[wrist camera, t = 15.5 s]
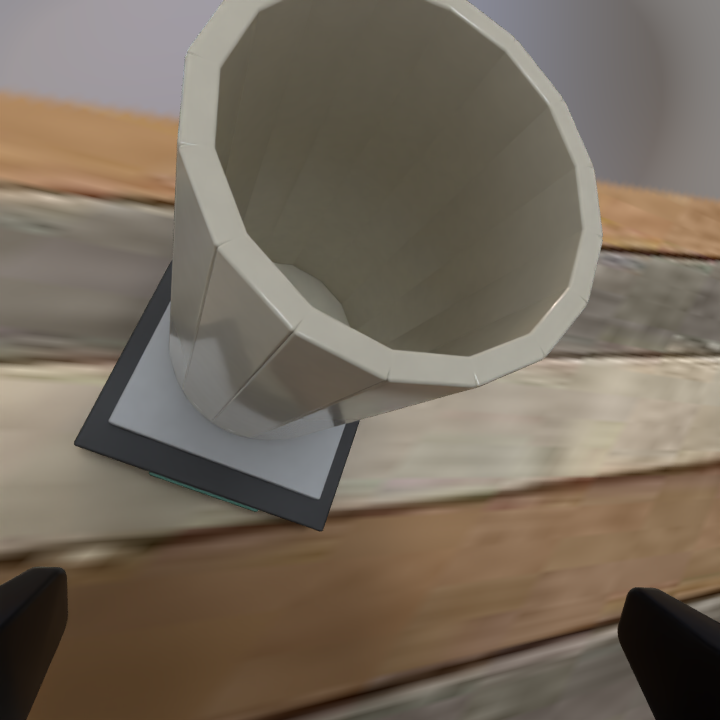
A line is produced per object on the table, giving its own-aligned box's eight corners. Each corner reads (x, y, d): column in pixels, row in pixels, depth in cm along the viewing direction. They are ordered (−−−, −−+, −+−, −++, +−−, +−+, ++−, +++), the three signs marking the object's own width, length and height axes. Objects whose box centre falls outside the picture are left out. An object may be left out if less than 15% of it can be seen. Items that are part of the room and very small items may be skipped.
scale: (307, 529, 20) (326, 537, 18) (80, 450, 18) (67, 446, 15) (388, 297, 24) (412, 278, 21) (208, 206, 21) (214, 173, 19)
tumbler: (356, 442, 19) (625, 397, 8) (161, 438, 16) (157, 366, 5) (355, 273, 20) (579, 38, 9) (177, 246, 18) (199, -114, 7)
